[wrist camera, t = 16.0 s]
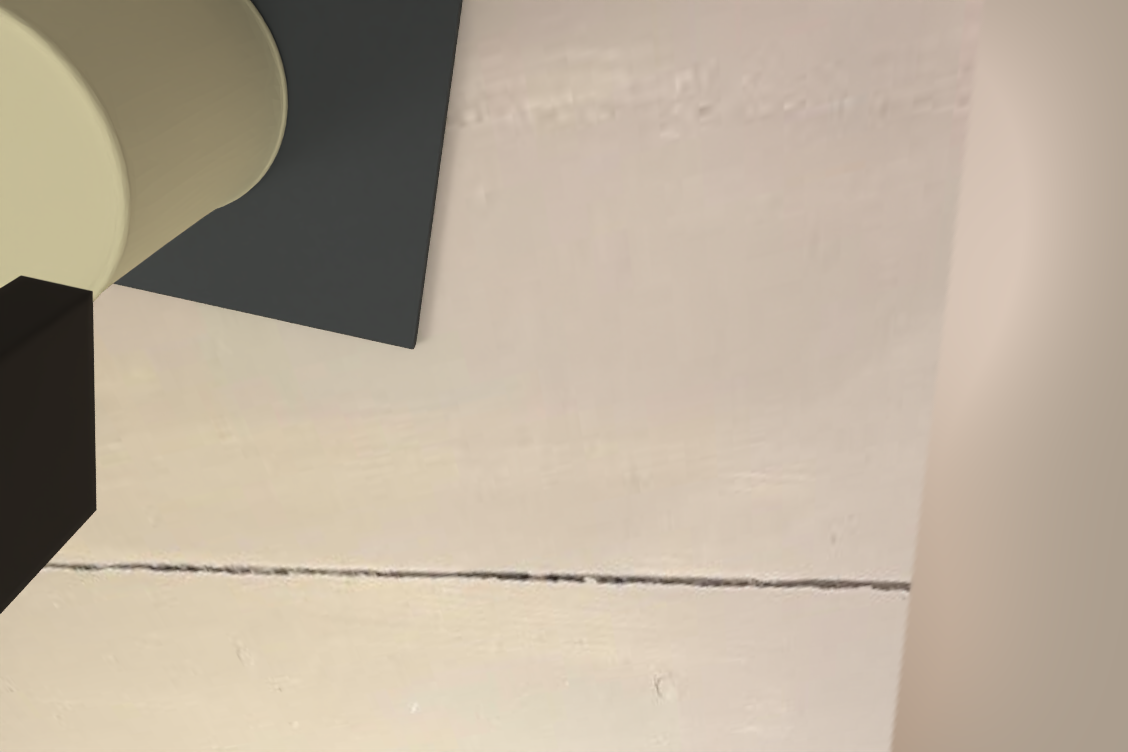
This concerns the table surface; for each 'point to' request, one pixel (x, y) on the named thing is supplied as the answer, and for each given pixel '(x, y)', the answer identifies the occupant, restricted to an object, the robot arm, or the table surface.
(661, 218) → the table surface
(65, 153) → the can
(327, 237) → the mat
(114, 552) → the table surface
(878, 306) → the table surface
